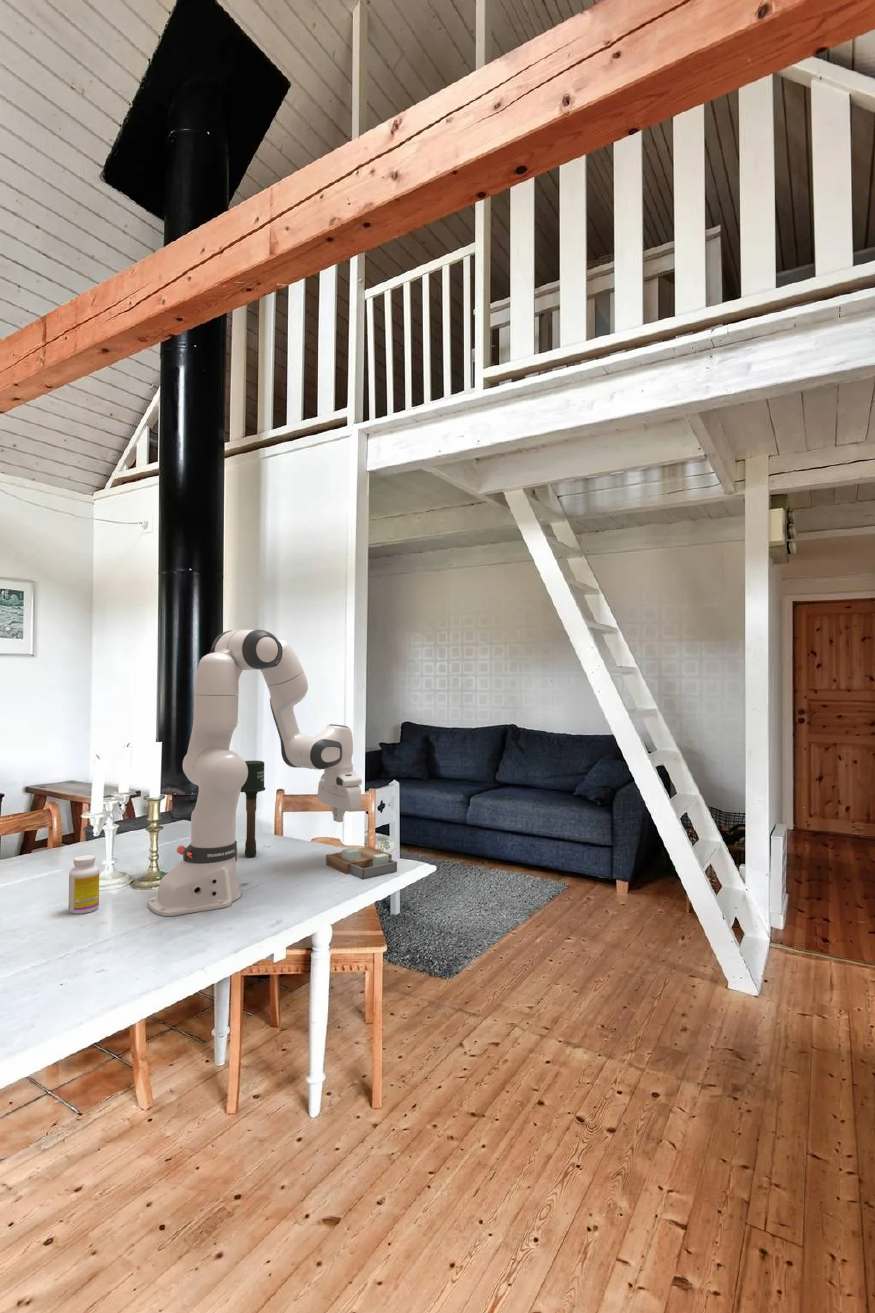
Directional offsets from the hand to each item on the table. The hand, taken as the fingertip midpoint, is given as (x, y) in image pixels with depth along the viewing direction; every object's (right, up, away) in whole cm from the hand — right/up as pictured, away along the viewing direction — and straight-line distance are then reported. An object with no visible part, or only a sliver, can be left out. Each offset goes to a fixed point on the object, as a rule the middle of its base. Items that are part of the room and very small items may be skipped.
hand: (338, 821), depth 206 cm
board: (+7, -13, -2) cm, 15 cm away
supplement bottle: (-56, -12, -42) cm, 71 cm away
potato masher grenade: (-29, -13, +6) cm, 32 cm away
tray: (+12, -13, -10) cm, 20 cm away
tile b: (+13, -10, -6) cm, 18 cm away
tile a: (+5, -10, -6) cm, 13 cm away
